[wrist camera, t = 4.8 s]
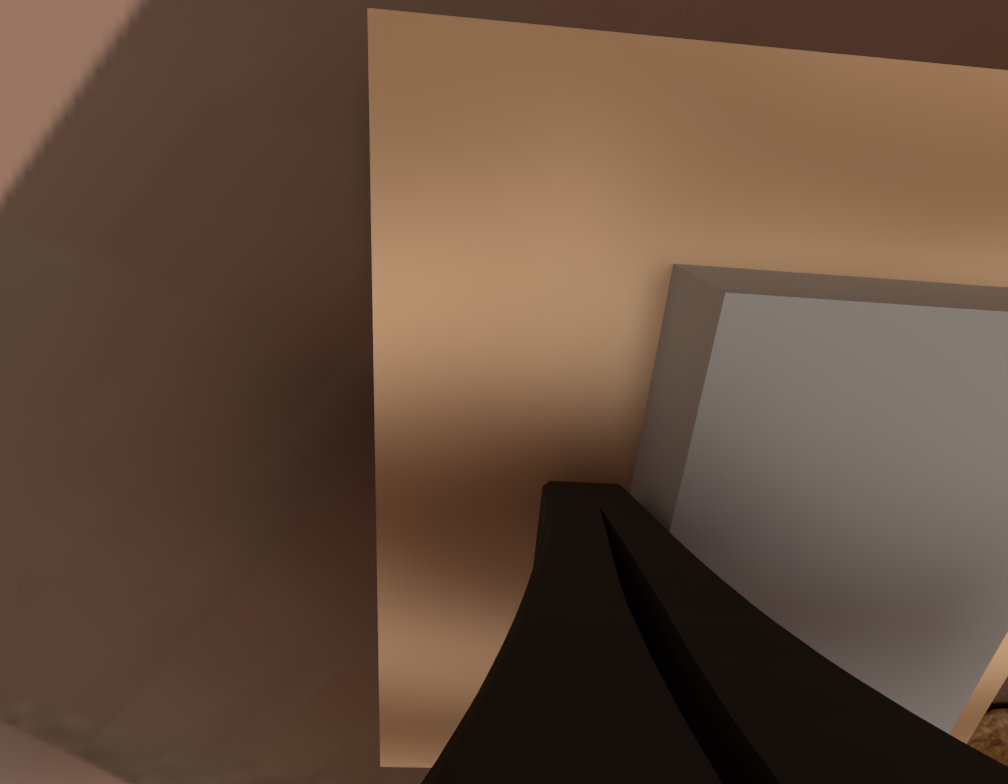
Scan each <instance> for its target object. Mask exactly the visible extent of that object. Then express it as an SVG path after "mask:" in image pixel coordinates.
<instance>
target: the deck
mask: <svg viewBox="0 0 1008 784" xmlns="http://www.w3.org/2000/svg"><path fill="white" fill-rule="evenodd" d="M368 66H369V125H370V185H371V244H372V303H373V363H374V422H375V481H376V541H377V600H378V659H379V719H380V767H422V768H432V767H433V765H434V764H435V762H436V760H437V759H438V757H439V756H440V754H441V752H442V751H443V749H444V747H445V746H446V744H447V743H448V741H449V739H450V738H451V736H452V734H453V733H454V731H455V729H456V728H457V726H458V725H459V723H460V721H461V720H462V718H463V716H464V715H465V713H466V712H467V710H468V708H469V707H470V705H471V703H472V702H473V700H474V698H475V696H476V695H477V693H478V691H479V689H480V687H481V685H482V684H483V682H484V680H485V678H486V676H487V674H488V672H489V670H490V668H491V666H492V664H493V662H494V660H495V658H496V656H497V654H498V652H499V650H500V649H501V647H502V645H503V642H504V640H505V638H506V636H507V634H508V631H509V629H510V627H511V625H512V623H513V620H514V618H515V616H516V613H517V611H518V608H519V606H520V603H521V601H522V598H523V596H524V593H525V590H526V587H527V584H528V581H529V578H530V575H531V572H532V569H533V563H534V555H535V546H536V538H537V529H538V520H539V512H540V503H541V495H542V486H544V485H545V484H546V483H548V482H549V481H565V482H586V483H607V484H620V485H621V486H622V487H623V488H624V489H625V490H626V491H627V492H628V493H630V489H631V484H632V479H633V473H634V468H635V463H636V458H637V453H638V447H639V442H640V437H641V432H642V426H643V421H644V416H645V411H646V406H647V400H648V395H649V390H650V385H651V380H652V374H653V369H654V364H655V359H656V353H657V348H658V343H659V338H660V333H661V327H662V322H663V317H664V312H665V307H666V301H667V296H668V291H669V286H670V280H671V275H672V270H673V265H674V264H685V265H699V266H713V267H727V268H741V269H755V270H769V271H783V272H797V273H812V274H826V275H840V276H854V277H868V278H882V279H896V280H910V281H924V282H938V283H952V284H967V285H981V286H995V287H1008V70H999V69H988V68H978V67H968V66H958V65H947V64H937V63H927V62H917V61H906V60H896V59H886V58H876V57H865V56H855V55H845V54H834V53H824V52H814V51H804V50H793V49H783V48H773V47H763V46H752V45H742V44H732V43H722V42H711V41H701V40H691V39H681V38H670V37H660V36H650V35H640V34H629V33H619V32H609V31H598V30H588V29H578V28H568V27H557V26H547V25H537V24H527V23H516V22H506V21H496V20H486V19H475V18H465V17H455V16H445V15H434V14H424V13H414V12H403V11H393V10H383V9H373V8H368ZM1007 676H1008V632H1007V634H1006V635H1005V637H1004V639H1003V641H1002V642H1001V644H1000V646H999V648H998V649H997V651H996V653H995V655H994V656H993V658H992V660H991V662H990V663H989V665H988V667H987V669H986V670H985V672H984V674H983V676H982V677H981V679H980V681H979V683H978V684H977V686H976V688H975V690H974V691H973V693H972V695H971V697H970V698H969V700H968V702H967V704H966V705H965V707H964V709H963V710H962V712H961V714H960V716H959V717H958V719H957V721H956V723H955V724H954V726H953V728H952V730H951V731H950V733H949V734H950V735H951V736H953V737H955V738H957V739H958V740H960V741H962V742H964V743H966V744H967V743H968V741H969V739H970V738H971V736H972V734H973V733H974V731H975V729H976V728H977V726H978V724H979V723H980V721H981V719H982V718H983V716H984V714H985V713H986V711H987V709H988V708H989V706H990V704H991V703H992V701H993V699H994V698H995V696H996V694H997V693H998V691H999V689H1000V688H1001V686H1002V684H1003V683H1004V681H1005V679H1006V678H1007Z"/></svg>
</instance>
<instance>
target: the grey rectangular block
mask: <svg viewBox="0 0 1008 784" xmlns="http://www.w3.org/2000/svg"><path fill="white" fill-rule="evenodd" d="M630 494H631V495H632V496H633V497H634V498H635V499H636V500H637V501H638V502H639V503H640V504H641V505H642V506H643V507H644V508H645V509H646V510H647V511H648V512H649V513H650V514H651V515H652V516H653V517H654V518H655V519H656V520H657V521H658V522H660V523H661V524H662V525H663V526H664V527H665V528H666V529H667V530H668V531H669V532H670V533H671V534H672V535H673V536H674V537H675V538H676V539H677V540H678V541H680V542H681V543H682V544H683V545H684V546H685V547H686V548H687V549H688V550H689V551H690V552H691V553H693V554H694V555H695V556H696V557H697V558H698V559H699V560H700V561H701V562H703V563H704V564H705V565H706V566H707V567H708V568H709V569H711V570H712V571H713V572H714V573H715V574H716V575H718V576H719V577H720V578H721V579H722V580H724V581H725V582H726V583H727V584H728V585H730V586H731V587H732V588H733V589H734V590H736V591H737V592H738V593H739V594H741V595H742V596H743V597H744V598H745V599H747V600H748V601H749V602H750V603H751V604H753V605H754V606H755V607H757V608H758V609H759V610H760V611H762V612H763V613H764V614H766V615H767V616H768V617H770V618H771V619H772V620H774V621H775V622H776V623H778V624H779V625H780V626H782V627H783V628H785V629H786V630H787V631H789V632H790V633H792V634H793V635H794V636H796V637H797V638H799V639H800V640H801V641H803V642H804V643H806V644H807V645H808V646H810V647H811V648H813V649H814V650H815V651H817V652H818V653H820V654H821V655H822V656H824V657H825V658H827V659H828V660H830V661H831V662H833V663H834V664H836V665H837V666H839V667H840V668H842V669H843V670H845V671H846V672H848V673H849V674H851V675H853V676H854V677H856V678H857V679H859V680H861V681H862V682H864V683H865V684H867V685H869V686H870V687H872V688H873V689H875V690H877V691H878V692H880V693H881V694H883V695H885V696H886V697H888V698H889V699H891V700H893V701H894V702H896V703H897V704H899V705H901V706H902V707H904V708H905V709H907V710H909V711H910V712H912V713H914V714H915V715H917V716H919V717H920V718H922V719H924V720H926V721H927V722H929V723H931V724H932V725H934V726H936V727H938V728H939V729H941V730H943V731H945V732H946V733H948V734H949V733H950V731H951V730H952V728H953V726H954V724H955V723H956V721H957V719H958V717H959V716H960V714H961V712H962V710H963V709H964V707H965V705H966V704H967V702H968V700H969V698H970V697H971V695H972V693H973V691H974V690H975V688H976V686H977V684H978V683H979V681H980V679H981V677H982V676H983V674H984V672H985V670H986V669H987V667H988V665H989V663H990V662H991V660H992V658H993V656H994V655H995V653H996V651H997V649H998V648H999V646H1000V644H1001V642H1002V641H1003V639H1004V637H1005V635H1006V634H1007V632H1008V287H995V286H981V285H967V284H952V283H938V282H924V281H910V280H896V279H882V278H868V277H854V276H840V275H826V274H812V273H797V272H783V271H769V270H755V269H741V268H727V267H713V266H699V265H685V264H674V265H673V270H672V275H671V280H670V286H669V291H668V296H667V301H666V307H665V312H664V317H663V322H662V327H661V333H660V338H659V343H658V348H657V353H656V359H655V364H654V369H653V374H652V380H651V385H650V390H649V395H648V400H647V406H646V411H645V416H644V421H643V426H642V432H641V437H640V442H639V447H638V453H637V458H636V463H635V468H634V473H633V479H632V484H631V489H630Z"/></svg>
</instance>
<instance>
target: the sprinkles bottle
mask: <svg viewBox="0 0 1008 784" xmlns="http://www.w3.org/2000/svg"><path fill="white" fill-rule="evenodd" d="M967 745H969V746H971V747H973V748H975V749H977V750H978V751H980V752H982V753H984V754H986V755H987V756H989V757H991V758H993V759H995V760H997V761H998V762H1000V763H1002V764H1004V765H1006V766H1008V709H993V710H991V711H987V712H986V713H985V714H984V716H983V718H982V719H981V721H980V723H979V724H978V726H977V728H976V729H975V731H974V733H973V734H972V736H971V738H970V739H969V741H968V743H967Z"/></svg>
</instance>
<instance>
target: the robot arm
mask: <svg viewBox="0 0 1008 784" xmlns="http://www.w3.org/2000/svg"><path fill="white" fill-rule="evenodd" d="M421 784H1008V766H1006V765H1004V764H1002V763H1000V762H998V761H997V760H995V759H993V758H991V757H989V756H987V755H986V754H984V753H982V752H980V751H978V750H977V749H975V748H973V747H971V746H969V745H967V744H966V743H964V742H962V741H960V740H958V739H957V738H955V737H953V736H951V735H950V734H948V733H946V732H945V731H943V730H941V729H939V728H938V727H936V726H934V725H932V724H931V723H929V722H927V721H926V720H924V719H922V718H920V717H919V716H917V715H915V714H914V713H912V712H910V711H909V710H907V709H905V708H904V707H902V706H901V705H899V704H897V703H896V702H894V701H893V700H891V699H889V698H888V697H886V696H885V695H883V694H881V693H880V692H878V691H877V690H875V689H873V688H872V687H870V686H869V685H867V684H865V683H864V682H862V681H861V680H859V679H857V678H856V677H854V676H853V675H851V674H849V673H848V672H846V671H845V670H843V669H842V668H840V667H839V666H837V665H836V664H834V663H833V662H831V661H830V660H828V659H827V658H825V657H824V656H822V655H821V654H820V653H818V652H817V651H815V650H814V649H813V648H811V647H810V646H808V645H807V644H806V643H804V642H803V641H801V640H800V639H799V638H797V637H796V636H794V635H793V634H792V633H790V632H789V631H787V630H786V629H785V628H783V627H782V626H780V625H779V624H778V623H776V622H775V621H774V620H772V619H771V618H770V617H768V616H767V615H766V614H764V613H763V612H762V611H760V610H759V609H758V608H757V607H755V606H754V605H753V604H751V603H750V602H749V601H748V600H747V599H745V598H744V597H743V596H742V595H741V594H739V593H738V592H737V591H736V590H734V589H733V588H732V587H731V586H730V585H728V584H727V583H726V582H725V581H724V580H722V579H721V578H720V577H719V576H718V575H716V574H715V573H714V572H713V571H712V570H711V569H709V568H708V567H707V566H706V565H705V564H704V563H703V562H701V561H700V560H699V559H698V558H697V557H696V556H695V555H694V554H693V553H691V552H690V551H689V550H688V549H687V548H686V547H685V546H684V545H683V544H682V543H681V542H680V541H678V540H677V539H676V538H675V537H674V536H673V535H672V534H671V533H670V532H669V531H668V530H667V529H666V528H665V527H664V526H663V525H662V524H661V523H660V522H658V521H657V520H656V519H655V518H654V517H653V516H652V515H651V514H650V513H649V512H648V511H647V510H646V509H645V508H644V507H643V506H642V505H641V504H640V503H639V502H638V501H637V500H636V499H635V498H634V497H633V496H632V495H631V494H630V493H628V492H627V491H626V490H625V489H624V488H623V487H622V486H621V485H620V484H607V483H586V482H565V481H549V482H548V483H546V484H545V485H544V486H542V495H541V503H540V512H539V520H538V529H537V538H536V546H535V555H534V563H533V569H532V572H531V575H530V578H529V581H528V584H527V587H526V590H525V593H524V596H523V598H522V601H521V603H520V606H519V608H518V611H517V613H516V616H515V618H514V620H513V623H512V625H511V627H510V629H509V631H508V634H507V636H506V638H505V640H504V642H503V645H502V647H501V649H500V650H499V652H498V654H497V656H496V658H495V660H494V662H493V664H492V666H491V668H490V670H489V672H488V674H487V676H486V678H485V680H484V682H483V684H482V685H481V687H480V689H479V691H478V693H477V695H476V696H475V698H474V700H473V702H472V703H471V705H470V707H469V708H468V710H467V712H466V713H465V715H464V716H463V718H462V720H461V721H460V723H459V725H458V726H457V728H456V729H455V731H454V733H453V734H452V736H451V738H450V739H449V741H448V743H447V744H446V746H445V747H444V749H443V751H442V752H441V754H440V756H439V757H438V759H437V760H436V762H435V764H434V765H433V767H432V768H431V770H430V771H429V773H428V774H427V776H426V777H425V779H424V780H423V782H422V783H421Z"/></svg>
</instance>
